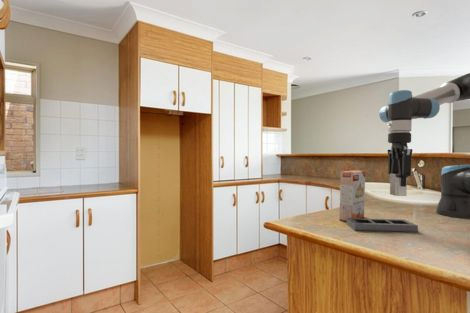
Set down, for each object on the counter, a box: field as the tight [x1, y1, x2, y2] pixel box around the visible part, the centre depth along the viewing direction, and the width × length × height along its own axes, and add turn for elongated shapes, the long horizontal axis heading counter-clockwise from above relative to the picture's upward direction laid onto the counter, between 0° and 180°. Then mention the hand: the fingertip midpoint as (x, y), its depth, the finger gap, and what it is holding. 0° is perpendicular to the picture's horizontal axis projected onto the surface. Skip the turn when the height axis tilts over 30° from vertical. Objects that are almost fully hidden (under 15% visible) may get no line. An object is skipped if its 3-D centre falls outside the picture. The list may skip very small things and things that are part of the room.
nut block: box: [389, 174, 408, 197], centre depth 102 cm, size 4×4×8 cm
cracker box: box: [338, 170, 366, 222], centre depth 118 cm, size 14×6×21 cm, turn 136°
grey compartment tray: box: [346, 217, 419, 233], centre depth 103 cm, size 22×9×2 cm, turn 85°
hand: (398, 194), depth 102 cm, fingers closed on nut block, 4 cm apart
